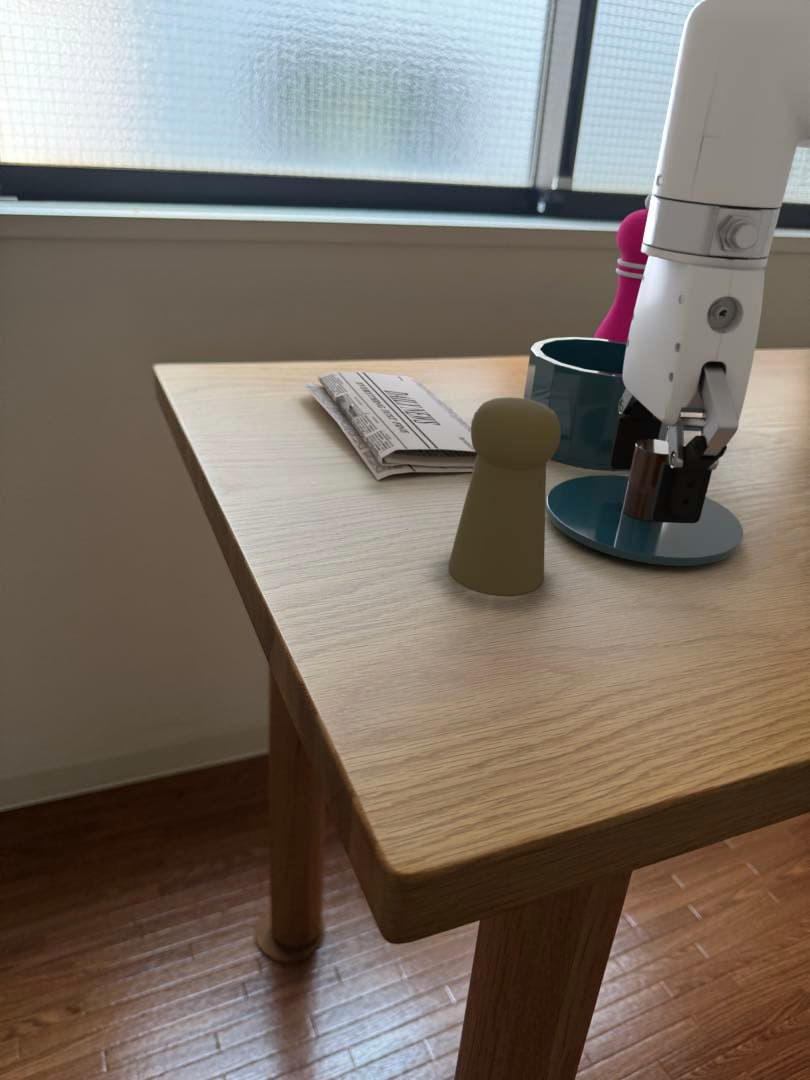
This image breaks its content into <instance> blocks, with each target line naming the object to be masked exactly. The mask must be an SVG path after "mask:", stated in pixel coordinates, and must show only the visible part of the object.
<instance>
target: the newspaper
mask: <svg viewBox="0 0 810 1080" xmlns="http://www.w3.org/2000/svg"><path fill="white" fill-rule="evenodd" d="M317 377H318V378H317V379H318V382H319V383H320V385H319V384H316V383H311V382H303V383H301V384H302V386H303V387H304V388H305V389H306V390H307V391H308V392H309V394H311V396H312V397H313V398H314V400H316V401H317V402H318V403H319V404H320V405H321V406H322V408H323V409H324V410H325V411H326V412H327V413H328V414H329V415H330V416H331V417H332V419H334V421H335V422H336V423H337V425H338V426H339V427H340V429H341V430H342V432H343V433H344V435H345V436H346V438H347V439H348V440H349V442H350V443H351V445H352V446H353V447H354V448H355V451H356V452H357V453H358V454H359V456H360V458H361V459H362V460H363V462H364V463H365V465H366V466H367V467H368V469H369V470H370V472H371V473H372V475H373V476H374V477H375V479H376V480H377V481H380V480H382V479H384V478H387V477H389V476H392V475H398V474H407V473H473V469H474V465H475V461H476V457H477V453H476V451H475V450H474V448H473V446H472V439H471V425H469V424H468V423H467V422H466V421H465V420H464V419H463V418H461V417H460V416H459V415H458V414H457V413H455V412H454V410H453V409H451V408H450V407H449V406H448V405H447V404H445V403H444V402H443V401H442V400H441V399H440V398H438V397H437V396H436V395H435V394H434V393H433V392H431V390H429V389H428V388H427V387H426V385H423V383H421V382H420V381H419V380H418V379H416V378H413V377H411V376H409V375H408V376H407V375H397V374H387V373H379V372H368V371H328V372H325V373H322V374H319V375H317Z"/></svg>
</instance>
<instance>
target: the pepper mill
mask: <svg viewBox="0 0 810 1080" xmlns="http://www.w3.org/2000/svg"><path fill="white" fill-rule="evenodd" d="M652 195H653V194H652V193H650V194H648V195H647V196H646V198H645V200H644V206H645V209H644V208H643V209H639V210H636V211H633V212H631V213H629V214H628V215H627V216H626V217H625V218H624V219H623V220H622V221H621V222H620V225H619V227H618V229H617V234H616V246H617V247H618V249H619V251H620V253H621V257H620V258H618V259H617V261H616V262H617V268H616V269H615V273H616V274H617V275H618V282H617V290H616V294H615V297H614V301H613V303H612V305H611V308H610V309H609V311H608V313H607V315H606V316H605V317H604V319H603V321H602V322H601V324H600V325H599V326H598V328H597V330H596V332H595V334H594V336H593V338H599V339H606V340H613V341H620V342H626V343H627V341H628V336H629V331H630V327H631V322H632V318H633V314H634V309H635V305H636V301H637V297H638V293H639V289H640V285H641V282H642V278H643V274H644V271H645V267H646V264H647V261H648V257H649V255H646V254H645V253H642V252H641V248H642V243H643V238H644V233H645V228H646V222H647V217H648V212H649V207H650V201H651V196H652Z"/></svg>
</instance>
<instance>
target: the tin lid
mask: <svg viewBox="0 0 810 1080" xmlns="http://www.w3.org/2000/svg"><path fill="white" fill-rule="evenodd" d="M662 462H665V463H669V451H668V441H666V440H665V441H662V440H656V439H642V440H638V441H637V442H636V443H635V448H634V452H633V457H632V462H631V467H630V470H628V475H621V474H596V475H595V474H593V475H584V476H579V477H578V476H577V477H574V478H571V479H567V480H564V481H561V482H560V483H557V485H555V486H553V488H551V489H550V491H549V492H548V494H547V497H546V500H545V513H546V515H547V517H548V518H549V520H550V521H551V523H552V524H553V525H554V526H555V527H556V528H557V529H558V530H559V531H561V532H562V533H563V534H565V535H566V536H568V537H569V538H571V539H573V541H576V542H578V543H580V544H582V545H584V546H586V547H588V548H591V549H593V550H596V551H599V552H601V553H604V554H607V555H610V556H613V557H617V558H621V559H625V560H629V561H632V562H633V561H634V562H639V563H645V564H650V565H651V564H652V565H661V566H671V567H672V566H675V567H683V566H684V567H685V566H687V567H690V566H700V565H701V566H702V565H709V564H712V563H716V562H720V561H723V560H725V559H728V558H730V557H732V555H734V554H736V552H738V551H739V549H740V547H741V545H742V542H743V538H744V529H743V525H742V524H741V522H740V520H739V519H738V518H737V516H736V515H735V514H734V513H732V512H731V511H730V510H729V509H728V508H726V507H725V506H724V505H722V504H721V503H720V502H717V501H715V500H714V499H712V498H709V497H707V496H706V497H705V501H704V505H703V509H702V512H701V516H700V519H699V521H698V522H696V523H662V522H655V521H654V520H653V519H652V517H651V515H650V513H651V509H652V504H653V500H654V496H655V491H656V487H657V482H658V478H659V473H660V469H661V464H662Z"/></svg>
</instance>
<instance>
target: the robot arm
mask: <svg viewBox="0 0 810 1080" xmlns="http://www.w3.org/2000/svg"><path fill="white" fill-rule="evenodd" d="M679 44H680V45H679V48H678V54H677V58H676V64H675V70H674V75H673V80H672V86H671V91H670V96H669V101H668V107H667V112H666V116H665V123H664V127H663V133H662V138H661V142H660V148H659V154H658V160H657V165H656V169H655V175H654V176H655V177H654V180H653V185H652V191H651V194H653V195H652V196H651V201H650V207H649V212H648V217H647V222H646V228H645V233H644V238H643V243H642V248H641V252H642V253H645V254H646V255H649V257H648V261H647V264H646V267H645V271H644V274H643V278H642V282H641V285H640V289H639V293H638V297H637V301H636V305H635V309H634V314H633V318H632V322H631V327H630V331H629V336H628V341H627V346H626V352H625V358H624V365H623V380H622V385H623V390H624V393H623V395H622V397H621V399H620V401H619V405H618V411H619V414H621V415H625V416H618V419H617V424H616V429H615V434H614V439H613V444H612V450H611V455H610V460H609V464H610V466H611V467H612V468H613V469H626V470H625V471H630V467H631V462H632V457H633V452H634V448H635V443H636V442H637V441H638V440H642V439H656V440H658V438H659V433H660V429H661V424H662V422H663V423H664V424H666V425H667V426H668V431H667V442H668V451H669V463H665V462H662V464H661V469H660V473H659V478H658V482H657V487H656V491H655V496H654V500H653V504H652V509H651V513H650V515H651V517H652V519H653V520H654V521H655V522H662V523H696V522H698V521H699V519H700V516H701V512H702V509H703V505H704V501H705V497H707V492H708V488H709V485H710V481H711V477H712V473H713V471H715V470H716V469H717V468H718V465H719V459H720V458H721V457H723V456H724V454H725V453H726V451H727V448H728V444H729V443H730V441H731V440H732V438H733V437H734V436H735V434H736V433H737V431H738V429H739V426H740V425H739V424H740V423H739V422H740V418H741V415H742V412H743V407H744V403H745V399H746V396H747V390H748V386H749V382H750V376H751V372H752V368H753V367H752V366H753V362H754V359H755V352H756V348H757V341H758V336H759V330H760V323H761V318H762V317H761V315H762V308H763V299H764V289H765V287H764V286H765V272H766V271H765V269H764V268H765V267H767V264H768V261H769V255H770V251H771V248H772V243H773V240H774V235H775V231H776V228H777V224H778V219H779V216H780V211H781V208H782V206H783V201H784V198H785V195H786V190H787V187H788V182H789V177H790V174H791V171H792V167H793V162H794V158H795V155H796V150H797V148H805V149H810V0H700V1H699V2H697V3H696V4H695V5H694V7H693V8H692V9H691V10H690V12H689V14H688V16H687V17H686V20H685V22H684V26H683V30H682V33H681V38H680V43H679ZM682 413H689V414H690V413H691V414H692V413H693V414H702V415H701V417H699V416H682ZM653 416H656V417H653ZM685 432H699V433H700V435H698V434H697V435H695V436H693V437H692V438H691V439H690V440H689V441H688V442H687V443H686V444H685Z"/></svg>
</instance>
